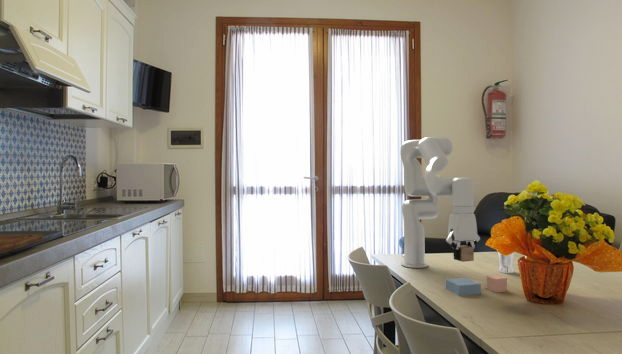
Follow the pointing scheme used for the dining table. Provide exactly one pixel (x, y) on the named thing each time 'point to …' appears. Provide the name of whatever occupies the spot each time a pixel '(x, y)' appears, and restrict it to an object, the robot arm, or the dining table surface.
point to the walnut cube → (466, 253)
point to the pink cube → (496, 283)
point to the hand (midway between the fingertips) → (463, 258)
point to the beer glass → (506, 263)
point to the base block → (463, 286)
